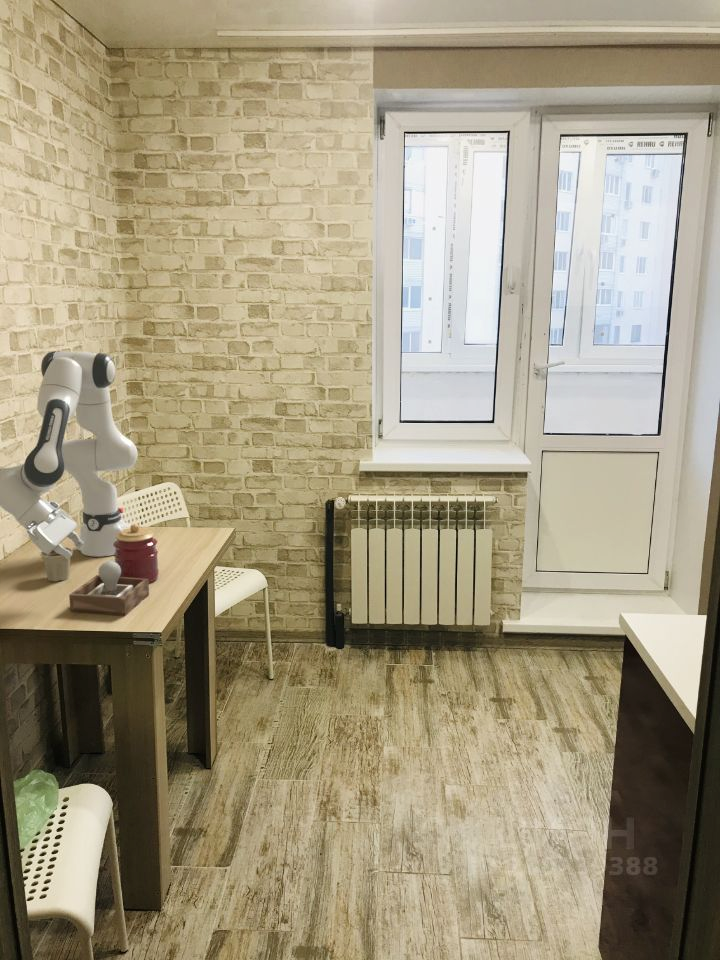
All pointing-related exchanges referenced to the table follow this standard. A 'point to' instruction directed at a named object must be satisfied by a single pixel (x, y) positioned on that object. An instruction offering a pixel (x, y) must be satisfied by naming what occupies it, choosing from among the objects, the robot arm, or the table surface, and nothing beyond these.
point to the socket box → (109, 596)
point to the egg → (110, 576)
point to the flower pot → (56, 565)
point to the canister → (137, 553)
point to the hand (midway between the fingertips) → (76, 551)
